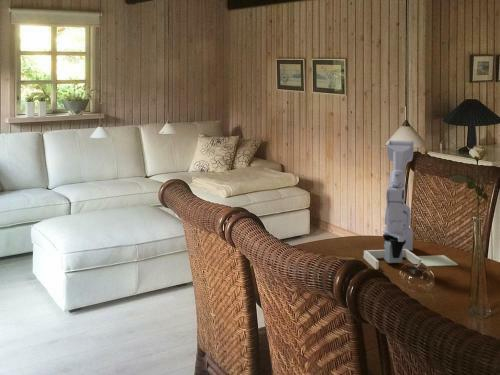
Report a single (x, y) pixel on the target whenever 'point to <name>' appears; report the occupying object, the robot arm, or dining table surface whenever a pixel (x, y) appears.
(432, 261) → the mat
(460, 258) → the dining table surface
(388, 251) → the block
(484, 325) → the dining table surface
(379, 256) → the grey u-shaped bracket
